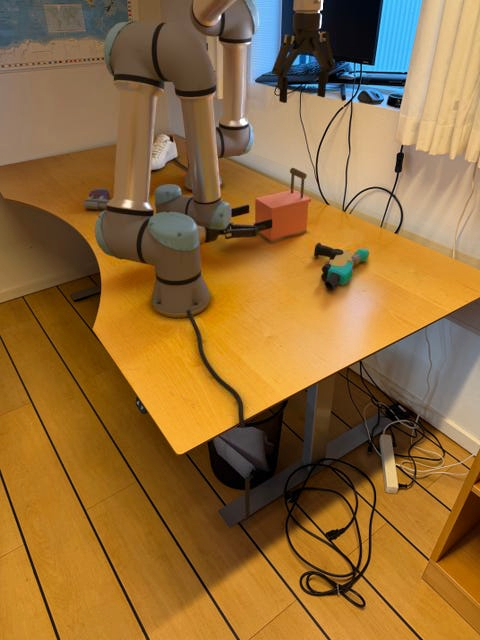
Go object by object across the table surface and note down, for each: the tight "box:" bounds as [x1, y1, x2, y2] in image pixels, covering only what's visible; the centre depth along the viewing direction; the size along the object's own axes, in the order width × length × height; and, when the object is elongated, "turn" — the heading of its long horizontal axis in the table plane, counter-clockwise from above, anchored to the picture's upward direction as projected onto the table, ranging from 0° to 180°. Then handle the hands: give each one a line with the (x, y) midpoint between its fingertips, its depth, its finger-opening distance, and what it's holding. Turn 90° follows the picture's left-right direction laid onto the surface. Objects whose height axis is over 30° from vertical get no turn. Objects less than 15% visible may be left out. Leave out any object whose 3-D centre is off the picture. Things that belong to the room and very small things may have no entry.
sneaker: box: [151, 133, 179, 171], centre depth 214 cm, size 10×29×12 cm, turn 163°
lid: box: [254, 167, 312, 211], centre depth 151 cm, size 15×10×9 cm, turn 120°
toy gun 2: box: [313, 242, 370, 292], centre depth 136 cm, size 4×26×15 cm
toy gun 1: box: [82, 188, 111, 211], centre depth 178 cm, size 4×19×15 cm
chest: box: [254, 201, 309, 243], centre depth 156 cm, size 14×10×10 cm
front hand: (260, 215), depth 153 cm, fingers open, 13 cm apart
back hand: (302, 99), depth 138 cm, fingers open, 13 cm apart
